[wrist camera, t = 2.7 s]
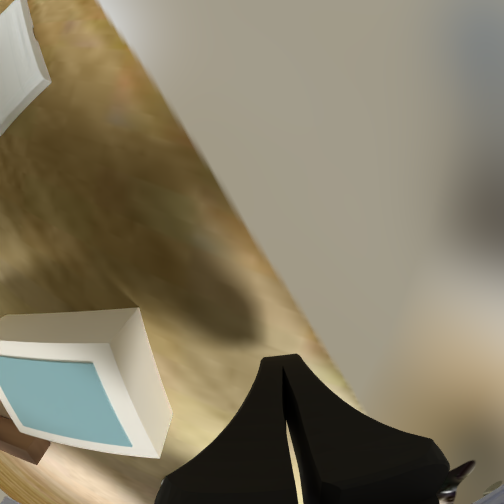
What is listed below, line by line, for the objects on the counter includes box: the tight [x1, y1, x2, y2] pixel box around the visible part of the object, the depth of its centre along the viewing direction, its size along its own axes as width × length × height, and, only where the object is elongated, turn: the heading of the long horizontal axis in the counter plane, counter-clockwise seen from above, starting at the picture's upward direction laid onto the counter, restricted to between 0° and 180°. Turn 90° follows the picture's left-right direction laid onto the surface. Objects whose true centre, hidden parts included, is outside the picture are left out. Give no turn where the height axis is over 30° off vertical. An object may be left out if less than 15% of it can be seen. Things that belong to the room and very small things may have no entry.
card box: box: [0, 307, 173, 459], centre depth 11 cm, size 6×9×4 cm, turn 98°
